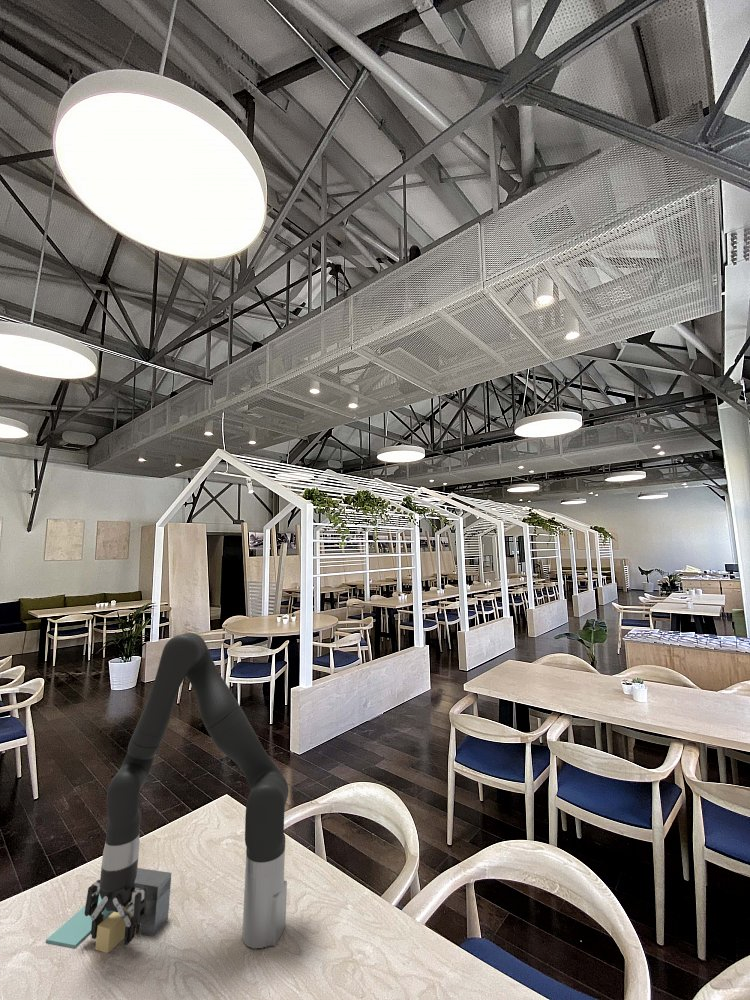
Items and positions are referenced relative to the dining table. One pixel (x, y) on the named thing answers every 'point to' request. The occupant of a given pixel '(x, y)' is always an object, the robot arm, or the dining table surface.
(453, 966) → the dining table surface
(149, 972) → the dining table surface
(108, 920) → the yellow and black block
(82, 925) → the mat
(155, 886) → the block
